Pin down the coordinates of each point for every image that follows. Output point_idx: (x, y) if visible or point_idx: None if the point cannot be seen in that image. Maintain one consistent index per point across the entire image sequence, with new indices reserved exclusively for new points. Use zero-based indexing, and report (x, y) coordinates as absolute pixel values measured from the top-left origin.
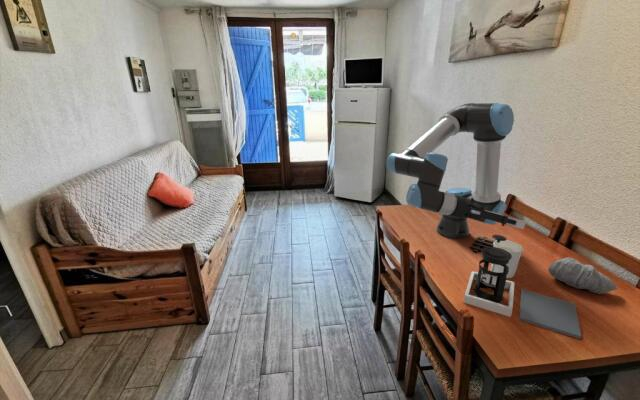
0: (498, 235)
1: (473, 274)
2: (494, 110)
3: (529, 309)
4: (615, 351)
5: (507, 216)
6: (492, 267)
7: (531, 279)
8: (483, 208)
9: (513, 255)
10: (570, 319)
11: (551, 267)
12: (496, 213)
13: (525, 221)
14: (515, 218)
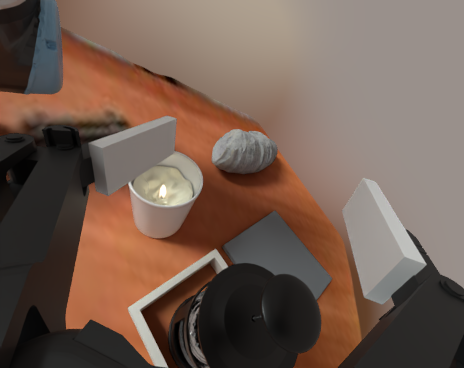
0: (279, 297)
1: (142, 320)
2: None
3: None
4: (345, 261)
5: (419, 255)
6: (146, 231)
7: (203, 196)
8: (71, 135)
9: (195, 199)
10: (302, 254)
11: (225, 162)
12: (155, 128)
13: (375, 184)
14: (387, 210)
